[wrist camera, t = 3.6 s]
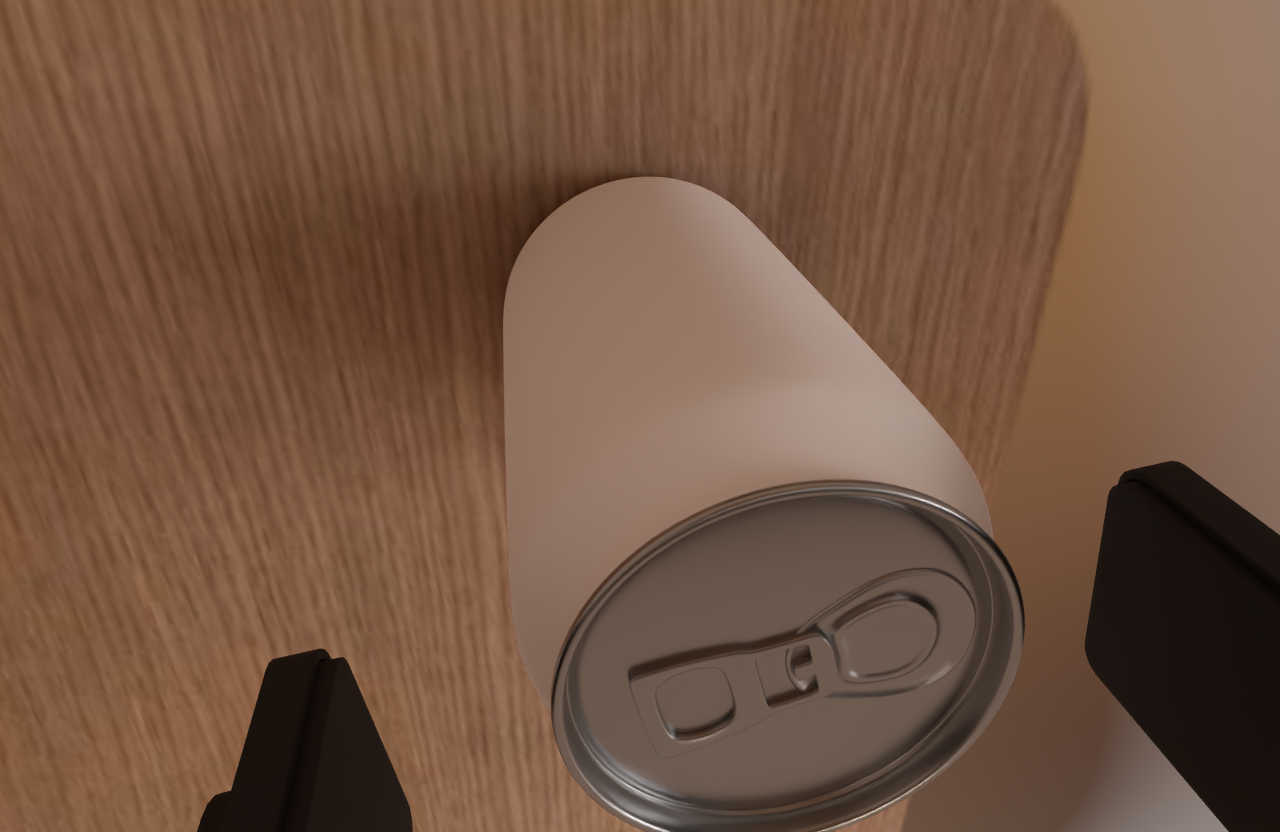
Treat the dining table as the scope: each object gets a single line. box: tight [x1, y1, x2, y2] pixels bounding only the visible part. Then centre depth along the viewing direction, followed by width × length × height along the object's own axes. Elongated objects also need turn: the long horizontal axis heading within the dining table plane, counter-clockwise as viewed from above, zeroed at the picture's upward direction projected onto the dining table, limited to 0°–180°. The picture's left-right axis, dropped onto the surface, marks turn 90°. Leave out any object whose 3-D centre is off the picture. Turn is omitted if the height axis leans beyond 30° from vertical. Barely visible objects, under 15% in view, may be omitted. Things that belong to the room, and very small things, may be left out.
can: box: [503, 177, 1025, 832], centre depth 15 cm, size 6×6×12 cm
